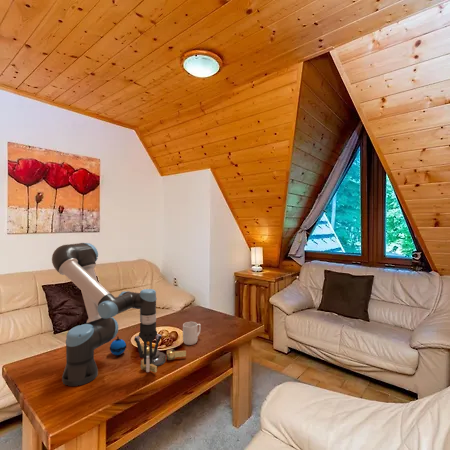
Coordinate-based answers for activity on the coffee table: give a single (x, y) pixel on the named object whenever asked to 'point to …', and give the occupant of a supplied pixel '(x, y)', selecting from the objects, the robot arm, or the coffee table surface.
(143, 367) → the knob
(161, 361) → the tribrach plate
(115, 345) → the ornament
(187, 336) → the mug
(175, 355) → the knob
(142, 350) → the knob
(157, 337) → the robot arm
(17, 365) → the coffee table surface
